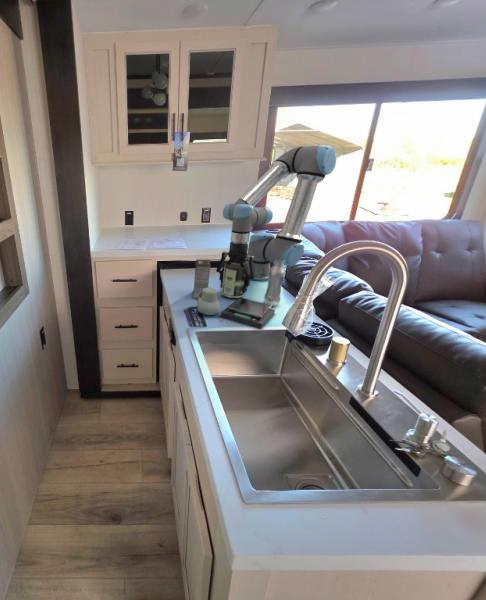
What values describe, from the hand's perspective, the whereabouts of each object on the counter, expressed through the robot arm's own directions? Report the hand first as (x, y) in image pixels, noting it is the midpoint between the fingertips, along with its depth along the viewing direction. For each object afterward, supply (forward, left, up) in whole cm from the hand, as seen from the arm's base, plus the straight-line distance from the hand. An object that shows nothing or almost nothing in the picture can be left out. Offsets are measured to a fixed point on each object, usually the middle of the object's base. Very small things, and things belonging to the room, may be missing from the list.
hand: (233, 289), depth 145 cm
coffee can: (0, 0, -2) cm, 2 cm away
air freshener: (+23, -1, -4) cm, 23 cm away
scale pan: (+14, +13, -1) cm, 19 cm away
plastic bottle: (-2, +17, -3) cm, 17 cm away
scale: (+15, +13, -3) cm, 20 cm away
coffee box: (+8, -12, -3) cm, 15 cm away
